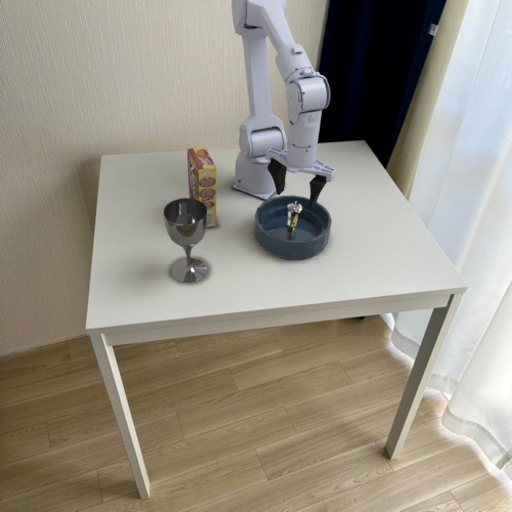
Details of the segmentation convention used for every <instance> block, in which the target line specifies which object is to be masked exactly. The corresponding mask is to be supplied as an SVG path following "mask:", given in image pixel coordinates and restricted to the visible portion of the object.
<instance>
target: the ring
mask: <svg viewBox="0 0 512 512" xmlns="http://www.w3.org/2000/svg"><path fill="white" fill-rule="evenodd" d="M287 207H288V224H287V236H289V237H292V236H293V235H294V232H295V229H296V226H297V222H298V218H299V213H300V212H301V210H302V205H301V204H298V205H297V201H295V204H293V203H292V204H288V206H287ZM291 213H292V214H294V220H293V223H292V225H291ZM290 227H291V228H290Z"/></svg>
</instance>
